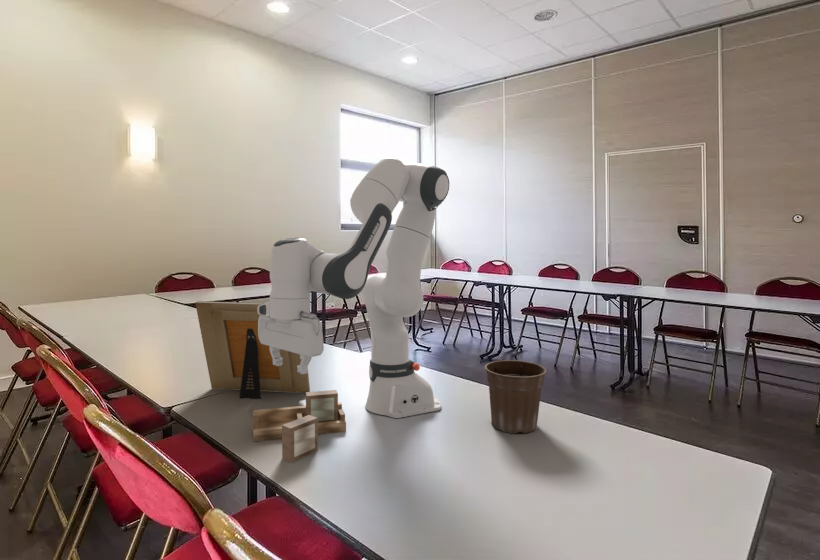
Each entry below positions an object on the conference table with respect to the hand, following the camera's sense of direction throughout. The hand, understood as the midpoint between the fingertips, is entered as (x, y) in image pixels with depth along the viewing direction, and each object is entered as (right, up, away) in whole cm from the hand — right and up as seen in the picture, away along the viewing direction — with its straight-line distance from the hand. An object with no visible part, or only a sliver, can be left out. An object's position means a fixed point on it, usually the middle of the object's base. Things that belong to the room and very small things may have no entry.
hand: (289, 369), depth 111 cm
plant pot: (+56, -19, +21) cm, 63 cm away
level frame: (+4, -17, +17) cm, 25 cm away
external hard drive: (+1, -18, +32) cm, 37 cm away
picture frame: (-21, -16, +42) cm, 49 cm away
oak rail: (-1, -19, +16) cm, 24 cm away
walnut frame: (+2, -20, +2) cm, 20 cm away
